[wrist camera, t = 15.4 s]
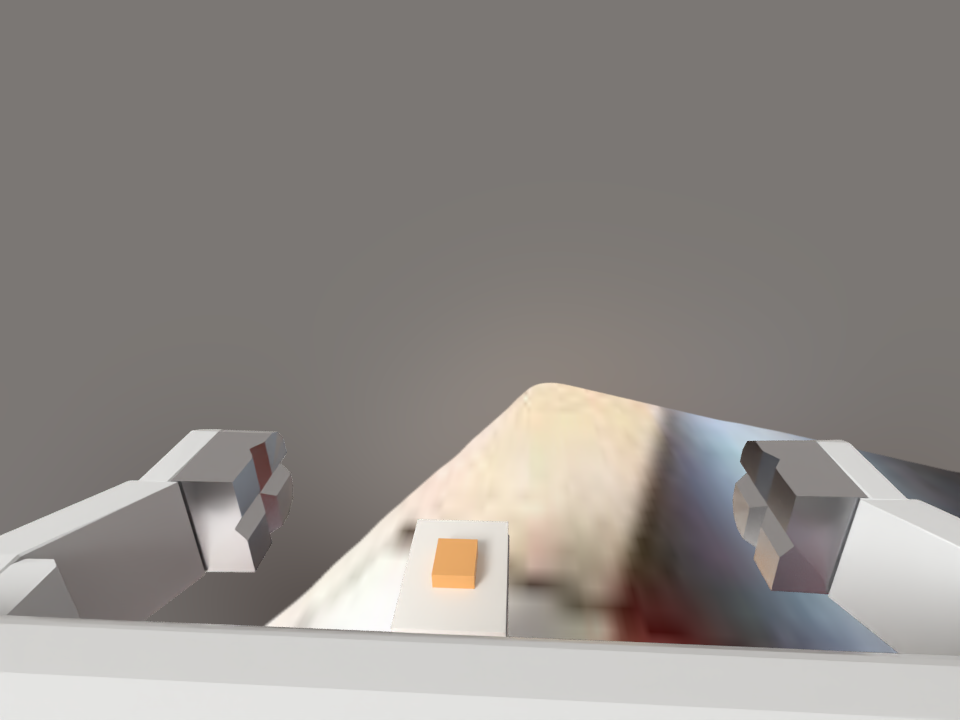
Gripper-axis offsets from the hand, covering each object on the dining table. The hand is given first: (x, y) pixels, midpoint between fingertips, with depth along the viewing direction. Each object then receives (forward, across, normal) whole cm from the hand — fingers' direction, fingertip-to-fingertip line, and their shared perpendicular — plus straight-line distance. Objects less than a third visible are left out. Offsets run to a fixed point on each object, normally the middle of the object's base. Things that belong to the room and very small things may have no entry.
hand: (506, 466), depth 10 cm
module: (+12, +3, +28) cm, 31 cm away
